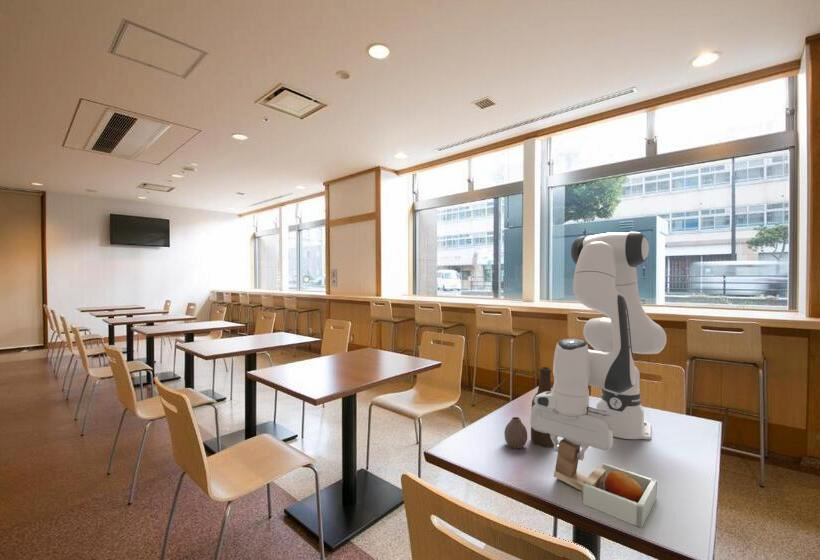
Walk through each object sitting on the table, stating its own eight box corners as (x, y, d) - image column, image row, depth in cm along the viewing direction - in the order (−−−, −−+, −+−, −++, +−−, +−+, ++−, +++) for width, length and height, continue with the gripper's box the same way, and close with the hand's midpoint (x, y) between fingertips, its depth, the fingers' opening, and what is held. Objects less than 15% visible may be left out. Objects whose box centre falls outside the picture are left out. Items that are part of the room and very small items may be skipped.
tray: (603, 479, 101) (603, 462, 101) (656, 498, 92) (656, 480, 92) (583, 503, 90) (583, 484, 90) (641, 527, 82) (642, 507, 81)
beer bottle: (555, 439, 125) (557, 366, 125) (556, 449, 118) (558, 372, 117) (530, 435, 128) (532, 364, 127) (530, 445, 120) (532, 369, 120)
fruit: (589, 489, 93) (604, 460, 94) (612, 503, 95) (627, 474, 96) (614, 509, 85) (630, 477, 86) (639, 523, 87) (654, 492, 88)
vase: (528, 452, 115) (528, 423, 115) (504, 449, 117) (505, 421, 117) (525, 442, 122) (526, 415, 122) (503, 440, 124) (504, 413, 123)
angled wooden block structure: (564, 466, 105) (570, 433, 104) (603, 484, 98) (609, 450, 97) (549, 479, 98) (554, 444, 97) (589, 501, 91) (596, 463, 90)
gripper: (617, 409, 94) (616, 465, 95) (538, 391, 108) (537, 439, 109) (610, 416, 90) (608, 474, 90) (528, 396, 104) (527, 446, 104)
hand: (568, 455), depth 99 cm, fingers closed on angled wooden block structure, 4 cm apart
